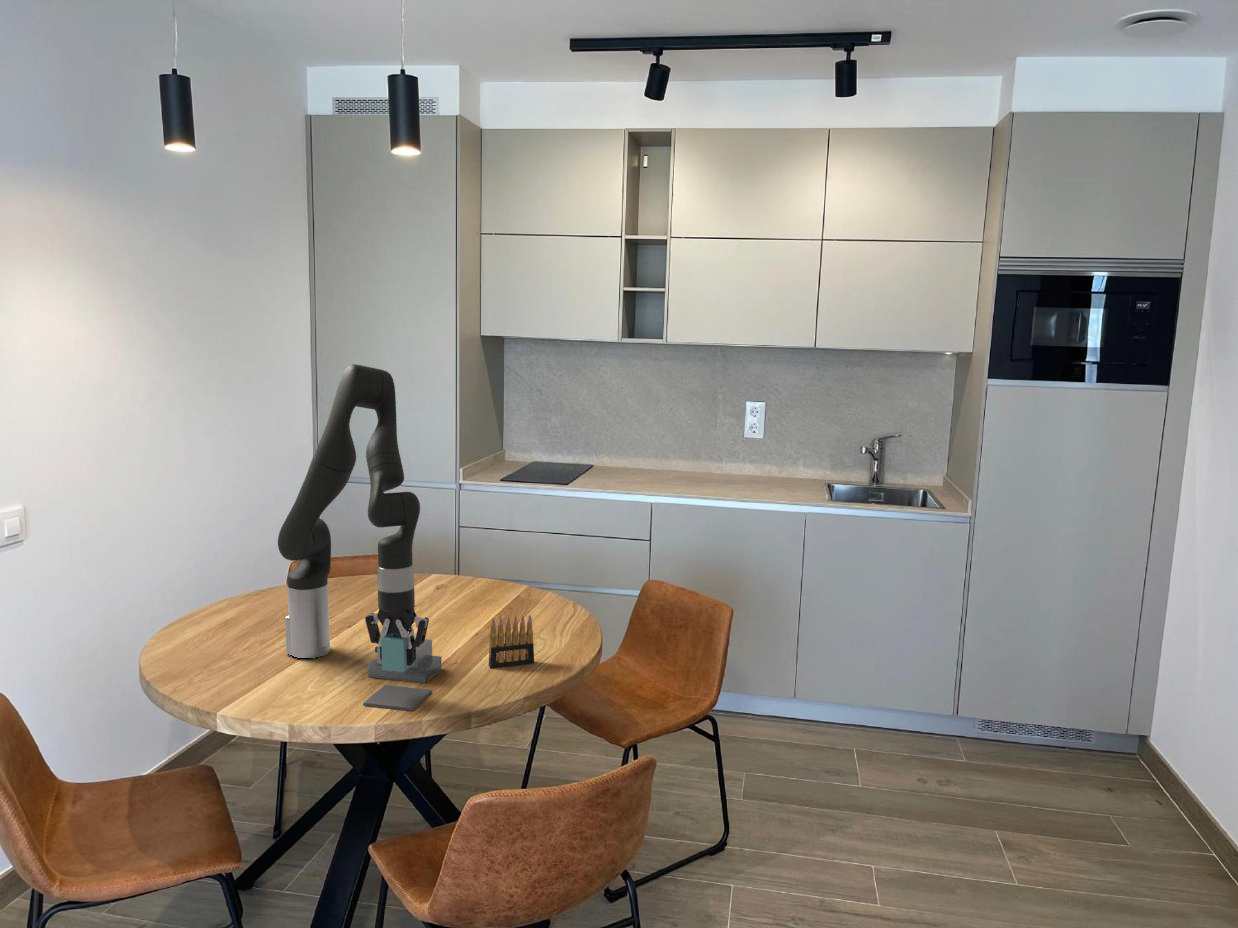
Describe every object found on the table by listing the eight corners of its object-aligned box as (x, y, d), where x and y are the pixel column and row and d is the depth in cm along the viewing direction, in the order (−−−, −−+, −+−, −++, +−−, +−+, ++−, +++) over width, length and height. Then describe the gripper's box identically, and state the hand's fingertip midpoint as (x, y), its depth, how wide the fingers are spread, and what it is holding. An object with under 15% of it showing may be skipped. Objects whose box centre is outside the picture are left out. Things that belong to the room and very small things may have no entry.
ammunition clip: (532, 660, 215) (532, 612, 213) (534, 663, 213) (534, 615, 211) (488, 665, 211) (488, 617, 209) (490, 668, 209) (489, 619, 208)
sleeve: (382, 669, 189) (381, 638, 188) (392, 661, 193) (392, 630, 192) (404, 671, 188) (403, 640, 187) (414, 663, 192) (413, 632, 191)
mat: (363, 705, 188) (363, 702, 188) (385, 687, 197) (385, 684, 197) (411, 710, 185) (411, 708, 185) (431, 692, 195) (431, 689, 195)
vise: (367, 676, 203) (365, 619, 201) (385, 662, 212) (384, 608, 210) (425, 682, 200) (424, 625, 198) (441, 668, 209) (440, 612, 207)
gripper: (435, 583, 190) (436, 659, 193) (373, 578, 193) (375, 654, 195) (420, 593, 183) (421, 672, 185) (356, 588, 186) (358, 666, 188)
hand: (398, 662), depth 190 cm, fingers closed on sleeve, 5 cm apart
